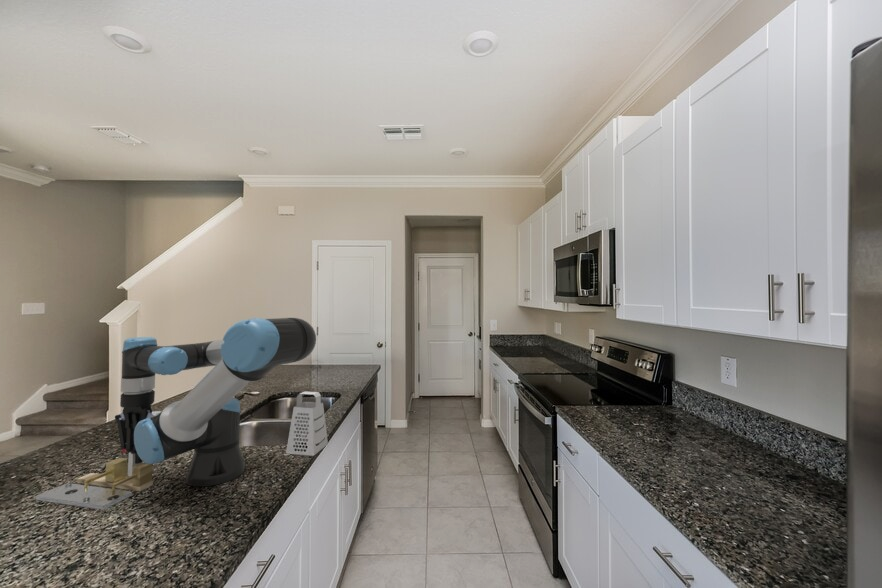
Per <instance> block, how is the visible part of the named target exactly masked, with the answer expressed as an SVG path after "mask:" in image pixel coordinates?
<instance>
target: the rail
mask: <svg viewBox="0 0 882 588" xmlns="http://www.w3.org/2000/svg"><path fill="white" fill-rule="evenodd" d="M153 467H154V465H153V464H147V463H145V462H142V464H140V465H138V466H135V467H133V475H132V476H127V477H125V478H122V479H120V480H118V481H116V482H108V481H105V477H106V476H104V477H101V478H99V479H96V480H94V481H92V482H89V483H88V485H89V486H96V487H104V488H111V489H112V495H114V494H115V489H118V490H126V491H136V492H141V491H144V490H145V489H147V488H149V487H151V486H153V485H154V480H153V471H154V470H153ZM100 474H101V473H97V472H96V473H94V472H91V473H87V474H84V475H83V476H81V477H78V478H76V484H81V485H85V484H84V481H85V480H88V479H90V478H92V477H95V476H97V475H100Z"/></svg>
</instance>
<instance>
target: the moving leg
mask: <svg viewBox="0 0 882 588" xmlns="http://www.w3.org/2000/svg"><path fill="white" fill-rule="evenodd" d="M99 474H100V475H97V476H95V477H92V478H90V479H88V480H85V481H84V484H83V485H84V491H87V488H88V486H89V484H88V483H89V482H92V481H94V480H96V479H99V478H101V477H104V476H106V477H105V481H108V482H116V481H118V480H120V479H122V478H125V477H128V462H127V458H122V457H119V458H116V459H113V460H111V461H108V462H106V463H105V472H102V473H99Z"/></svg>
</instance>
